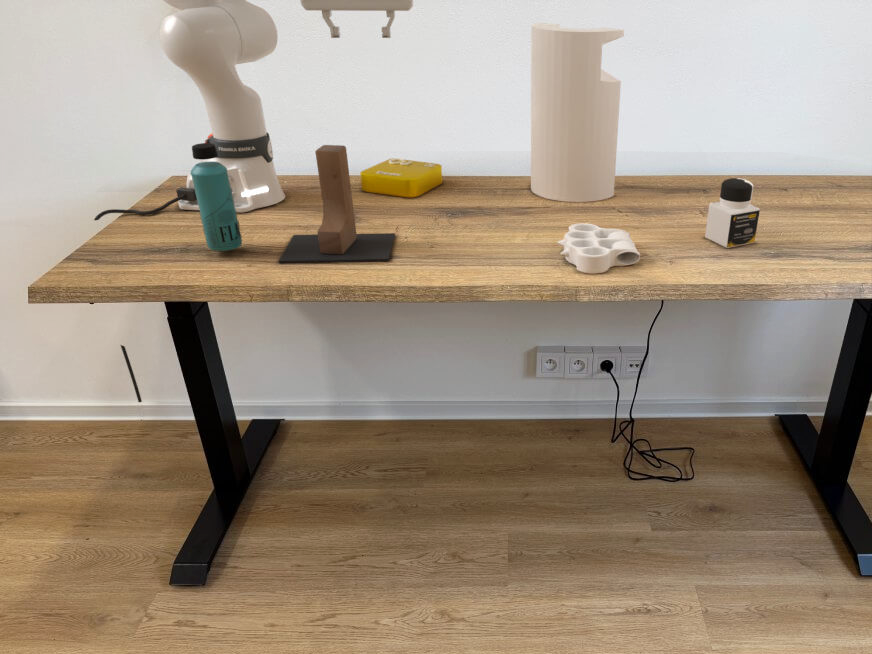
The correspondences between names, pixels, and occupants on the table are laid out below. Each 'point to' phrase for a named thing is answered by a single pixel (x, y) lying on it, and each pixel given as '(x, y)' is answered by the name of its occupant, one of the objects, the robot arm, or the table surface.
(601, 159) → the beige notched cylinder
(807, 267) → the table surface
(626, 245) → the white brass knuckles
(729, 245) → the medicine bottle
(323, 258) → the desk mat
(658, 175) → the table surface
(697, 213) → the table surface
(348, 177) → the wooden block
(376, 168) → the element tile
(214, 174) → the beverage bottle
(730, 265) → the table surface
